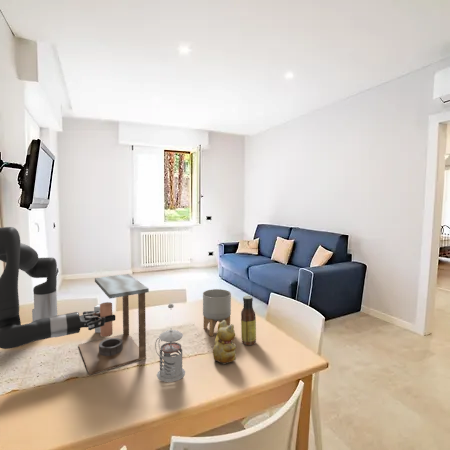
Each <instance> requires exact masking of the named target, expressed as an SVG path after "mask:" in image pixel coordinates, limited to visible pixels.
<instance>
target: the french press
mask: <svg viewBox="0 0 450 450" xmlns="http://www.w3.org/2000/svg"><path fill="white" fill-rule="evenodd" d="M167 307H168V309H173V308H174V307H175V306H174V304H173V303H169V304H168V306H167ZM183 337H184V334H183V332H182V331H179V330H176V329H167V330H165V331H162V332H161V333H160V334H159V336H158V338H157V339H156V340H155V342H154V343H155V345H154V348H155V352H156V354H157V355H158V357H159V370H158V371H157V374H156V377H157V379H158V380H159V381H161V382H165V383H174V382H178V381H180V380H181V379H183V378H184V376H185V375H186V370H185V369H184V368H183V348H182V345H181V343H179V342H177V341H180V340H181V339H182V338H183ZM160 341H161V342H165V343H164V344H162V345H161V346H160V345H158V348H159V352H158V351H157V342H160Z"/></svg>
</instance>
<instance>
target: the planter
mask: <svg viewBox="0 0 450 450" xmlns="http://www.w3.org/2000/svg"><path fill="white" fill-rule="evenodd" d="M231 308H232V293H231V291H229V290H226V289H221V288H219V289H217V288H216V289H215V288H213V289H208V290H204V291H203V292H202V316H203V330H207V329H208V328H209V331H208V332H209V333H208V334H209V337H214V336H215V335H214V333H215V329H216V328H215V327H216V325H217V322H218V324H219V323H220V322H222V321H223V320H225V321H226V323H227V325H228V326H229V325H231V314H232V309H231ZM208 326H209V327H208Z"/></svg>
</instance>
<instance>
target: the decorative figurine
mask: <svg viewBox="0 0 450 450" xmlns="http://www.w3.org/2000/svg"><path fill="white" fill-rule="evenodd" d="M235 338H236V332H235V325H234V324H233V323H232V324H231V323H230V325H229V326H228V325H227V323H226V321H225V320H223V321H222V322H220V323H219V322H218V324H217V332H216V336H215V340H214V344H213V345H214V346H213V349H212V356H213V360H214V361H217V362H219V363H220V365H225V364H227V363H231V362H234V361H235V360H236V359H237V358H236V354H237V353H236V349H237V345H236V343H233V340H234V339H235Z"/></svg>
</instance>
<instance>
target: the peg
mask: <svg viewBox="0 0 450 450" xmlns="http://www.w3.org/2000/svg"><path fill="white" fill-rule="evenodd" d="M99 304H100V317H103V316H109V315H113V303H112V302H108V301H107V302H102V303H99ZM113 331H114V330H113V321H110V322H105V324H104V326H101V327H100V337H102V338H103V337H106V338H108V337H111V336H112V335H113Z"/></svg>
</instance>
